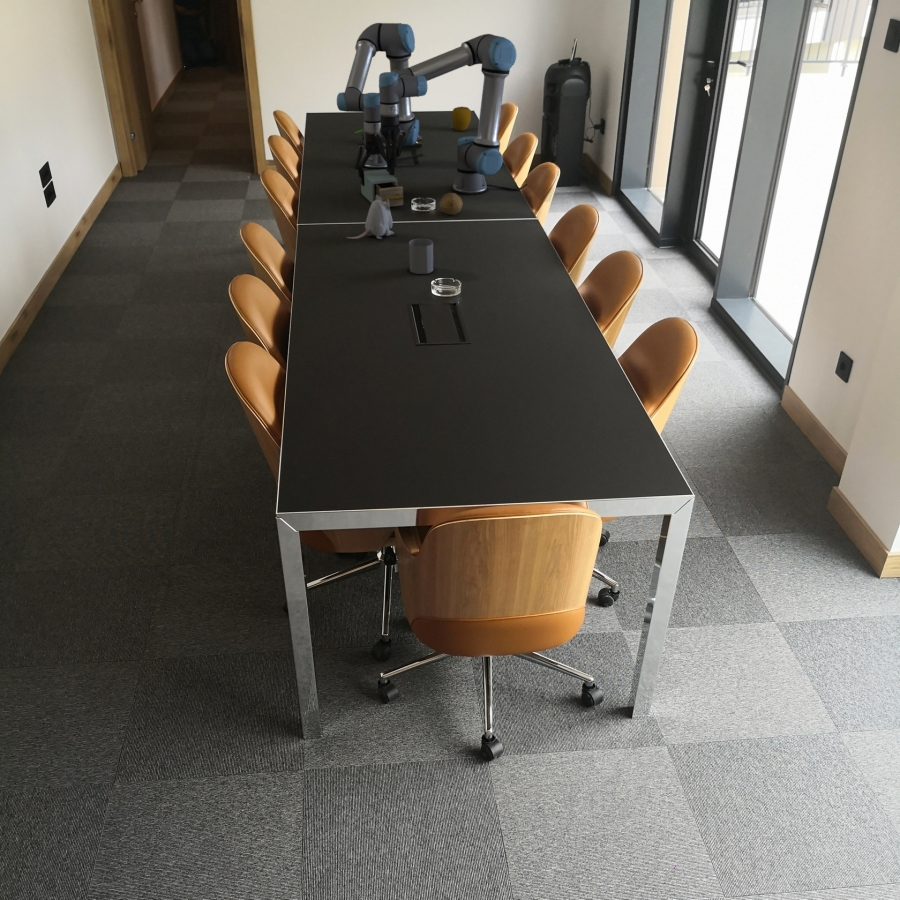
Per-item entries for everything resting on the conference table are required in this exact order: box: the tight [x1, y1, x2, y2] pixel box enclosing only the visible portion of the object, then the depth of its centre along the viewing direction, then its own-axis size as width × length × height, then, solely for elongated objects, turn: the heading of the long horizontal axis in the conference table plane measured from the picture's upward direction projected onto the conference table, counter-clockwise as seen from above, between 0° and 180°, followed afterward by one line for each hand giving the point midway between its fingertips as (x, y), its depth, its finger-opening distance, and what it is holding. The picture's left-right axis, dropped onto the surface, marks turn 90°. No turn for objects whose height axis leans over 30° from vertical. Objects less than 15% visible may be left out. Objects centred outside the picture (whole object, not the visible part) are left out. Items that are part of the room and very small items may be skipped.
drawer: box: [374, 182, 404, 208], centre depth 370 cm, size 21×10×8 cm, turn 21°
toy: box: [345, 195, 395, 240], centre depth 331 cm, size 9×24×15 cm, turn 137°
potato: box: [439, 192, 464, 216], centre depth 360 cm, size 10×14×8 cm
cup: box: [408, 237, 434, 275], centre depth 305 cm, size 8×8×10 cm
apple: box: [451, 105, 472, 132], centre depth 487 cm, size 11×11×13 cm
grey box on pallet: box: [360, 168, 399, 204], centre depth 379 cm, size 17×11×10 cm, turn 21°
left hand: (376, 183), depth 383 cm, fingers closed on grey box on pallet, 11 cm apart
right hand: (391, 174), depth 359 cm, fingers closed
